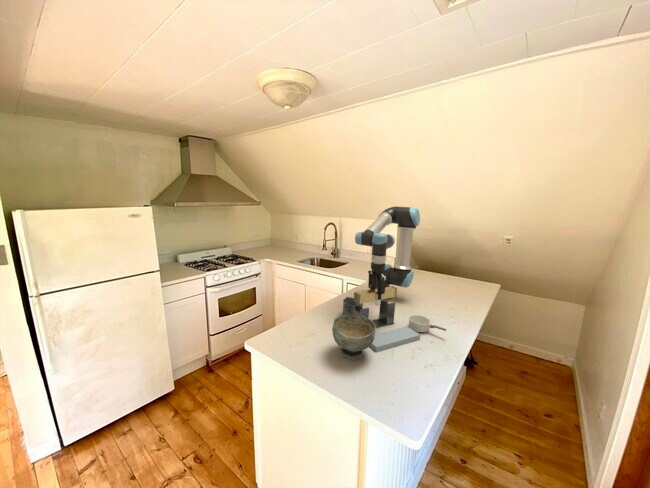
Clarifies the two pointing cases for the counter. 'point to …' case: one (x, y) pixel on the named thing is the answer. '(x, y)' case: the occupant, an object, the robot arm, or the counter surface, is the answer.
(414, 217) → the robot arm
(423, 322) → the saucepan
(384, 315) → the grey metal bracket
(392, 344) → the board
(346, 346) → the bowl
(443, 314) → the counter surface
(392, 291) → the rail
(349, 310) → the small box
